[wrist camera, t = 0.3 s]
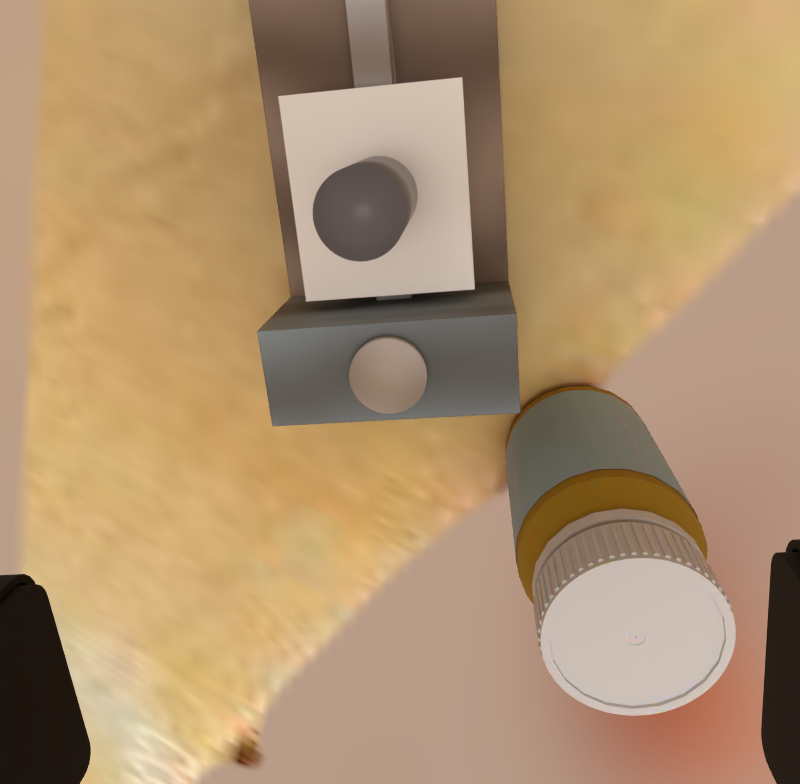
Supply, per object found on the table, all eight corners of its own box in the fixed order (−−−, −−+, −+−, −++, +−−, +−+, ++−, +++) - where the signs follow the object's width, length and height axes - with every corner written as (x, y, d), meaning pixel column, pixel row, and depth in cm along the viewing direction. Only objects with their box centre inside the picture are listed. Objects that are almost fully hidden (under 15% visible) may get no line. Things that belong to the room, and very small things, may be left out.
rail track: (210, -337, 28) (117, -501, 21) (477, -383, 27) (480, -573, 20) (308, 368, 38) (268, 431, 30) (510, 356, 37) (521, 418, 29)
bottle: (487, 488, 39) (498, 695, 25) (528, 365, 37) (566, 518, 23) (617, 523, 39) (700, 748, 25) (667, 402, 37) (789, 578, 23)
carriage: (295, 97, 32) (232, 91, 23) (462, 80, 31) (460, 67, 22) (320, 285, 35) (270, 342, 26) (474, 273, 34) (476, 328, 25)
